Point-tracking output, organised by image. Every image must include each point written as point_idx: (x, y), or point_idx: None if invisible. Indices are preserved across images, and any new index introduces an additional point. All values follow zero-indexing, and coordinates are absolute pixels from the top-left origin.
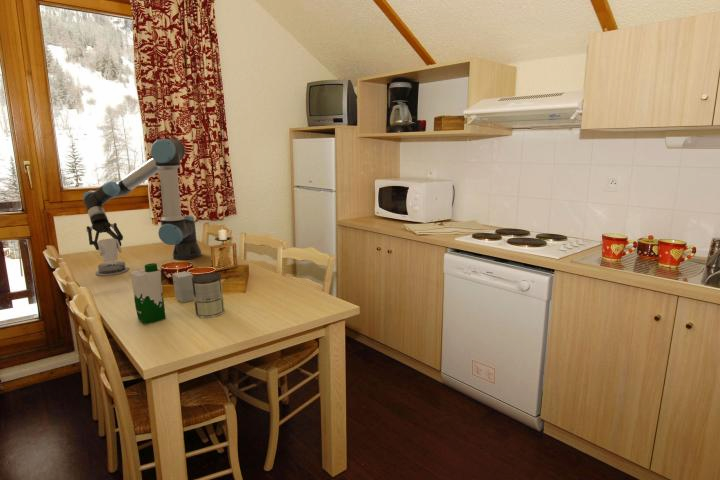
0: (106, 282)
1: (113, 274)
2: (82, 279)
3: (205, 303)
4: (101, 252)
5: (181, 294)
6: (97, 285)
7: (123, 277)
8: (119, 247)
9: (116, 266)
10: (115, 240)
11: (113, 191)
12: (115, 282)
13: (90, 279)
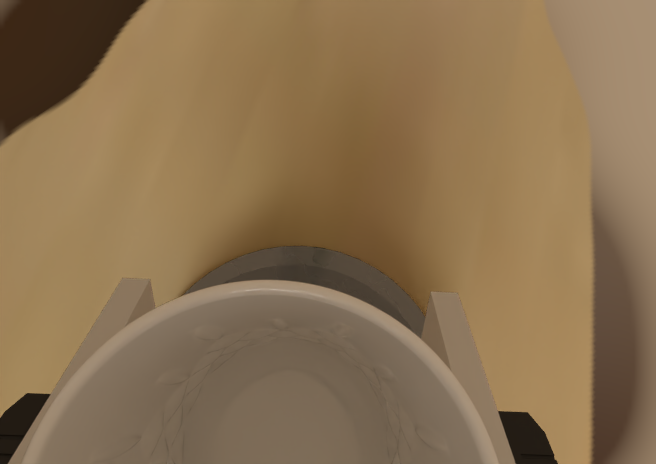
0: (439, 66)
1: (331, 250)
2: (578, 332)
3: None
4: (449, 298)
5: None
6: (510, 38)
7: (295, 104)
8: (122, 314)
9: (282, 267)
10: (98, 354)
11: None
12: (387, 12)
13: (521, 270)
